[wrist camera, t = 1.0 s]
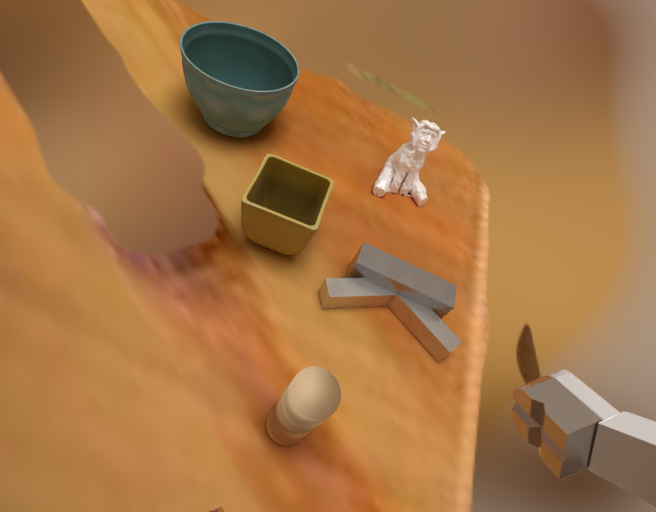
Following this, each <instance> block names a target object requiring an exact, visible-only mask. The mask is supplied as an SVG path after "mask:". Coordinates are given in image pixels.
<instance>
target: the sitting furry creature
mask: <svg viewBox="0 0 656 512" xmlns="http://www.w3.org/2000/svg"><path fill="white" fill-rule="evenodd" d="M411 127H412V129H413V130H412V132H411V133H410V138H409V140H410V142H407V143H405V144H403V145H402V146H401V147H399V148H398V150H397V151H396V152H395V153H393V154H392V155H390V156H389V158H388V159H387V160H386V162H385V163H384V166H383V168H382V171H381V172H380V174H379V177H378V178H377V180H376V181H375V185H374V187H373V194H374V195H377V197H378V196H379V197H382V196H384V195H385V194H386V192H390V193H393V192H394V194H395V193H396V192H398V193H399V194H400V195H402V194H403V193H404V195H403V196H408V197H412V198H413V199H414V200H415V202H416V204H418V206H422V205H424V204H425V203H426V202H427V201H428V198H427V194H426V188H425V187H424V186H423V184H422V183H421V182H420V180H419V171H420V169H421V168H422V167H423V163H424V162H425V158H426V154H427V153H429V152H430V151H433V150H435V149H436V148H437V145H438V142H439V140H440V139H441V135H442V134H443V133H445V132H446V131H441V130H440V128H439V127H438V126H437V125H436V124H435V123H430V122H429V121H427V120H422V121H420V122H419V123H418V122H417V120H416V119H414V118H411ZM399 188H400V191H398V190H399ZM408 193H410V194H411V195H407V194H408Z"/></svg>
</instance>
